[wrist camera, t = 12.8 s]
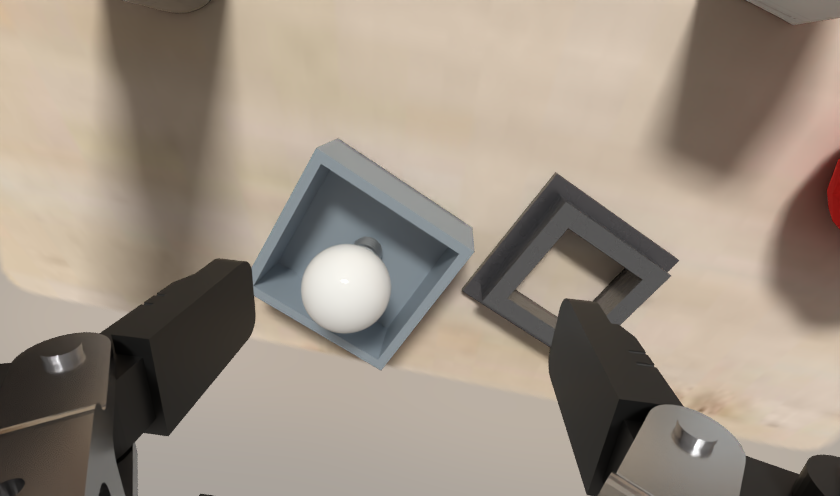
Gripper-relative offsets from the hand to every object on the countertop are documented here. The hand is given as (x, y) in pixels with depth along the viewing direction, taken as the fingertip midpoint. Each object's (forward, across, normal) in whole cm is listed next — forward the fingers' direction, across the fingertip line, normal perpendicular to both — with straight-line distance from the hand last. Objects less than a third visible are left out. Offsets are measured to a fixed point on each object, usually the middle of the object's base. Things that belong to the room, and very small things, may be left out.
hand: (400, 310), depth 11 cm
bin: (+25, +6, +9) cm, 27 cm away
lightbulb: (+25, +6, +9) cm, 27 cm away
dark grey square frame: (+25, -12, +9) cm, 29 cm away
